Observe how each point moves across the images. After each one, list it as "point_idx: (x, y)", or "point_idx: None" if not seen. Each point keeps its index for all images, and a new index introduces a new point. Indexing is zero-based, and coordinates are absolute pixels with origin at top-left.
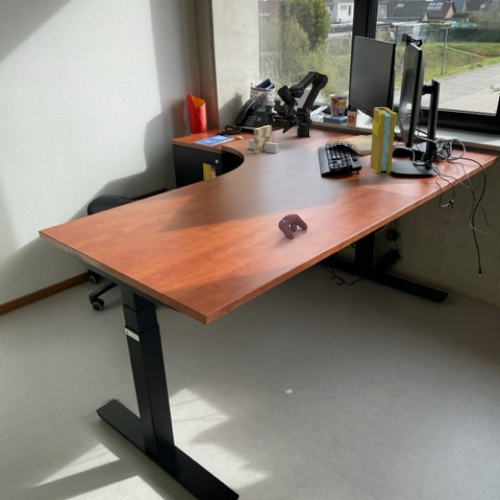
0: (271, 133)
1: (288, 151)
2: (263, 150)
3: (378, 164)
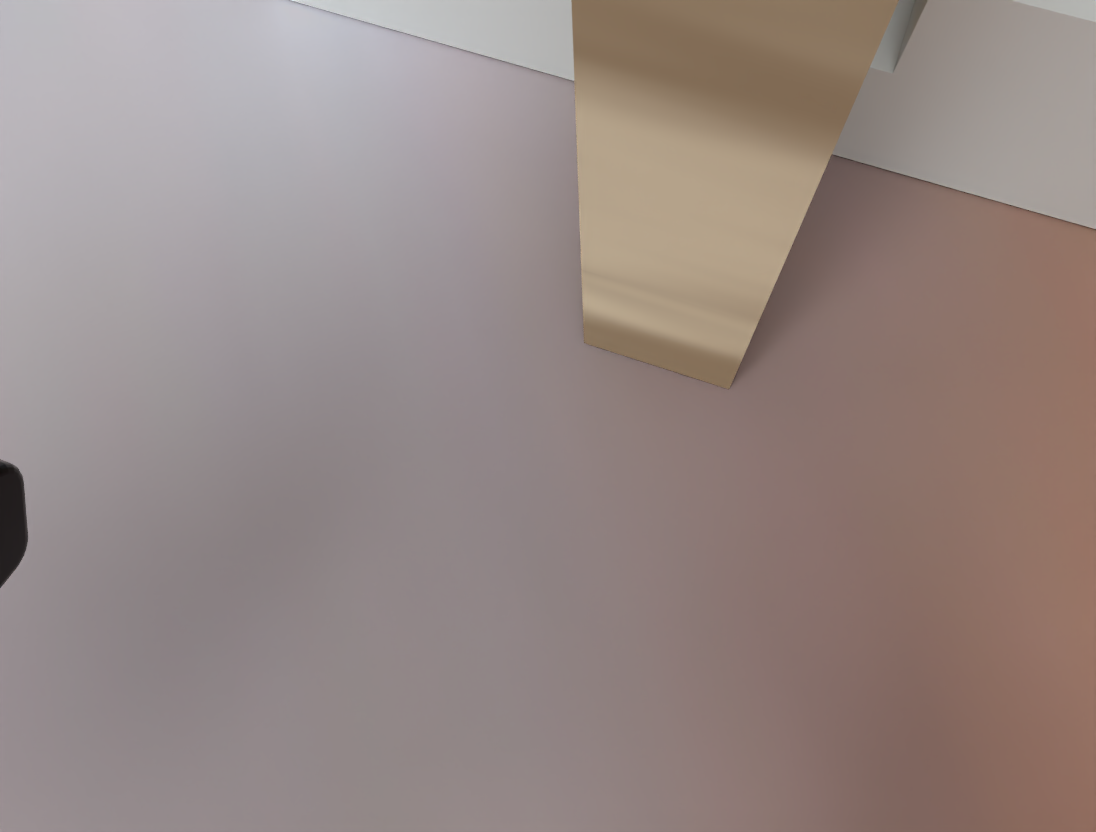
0: (576, 34)
1: (16, 130)
2: None
3: None
